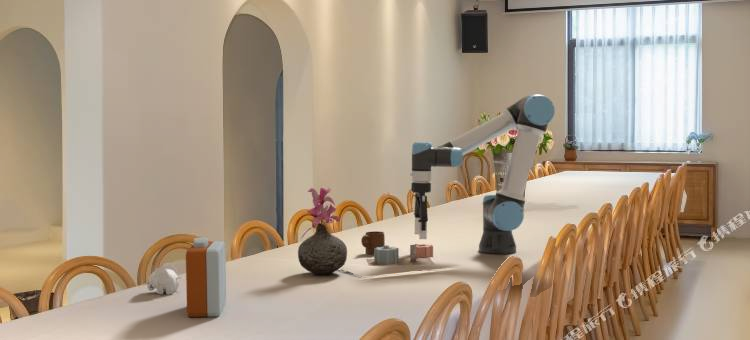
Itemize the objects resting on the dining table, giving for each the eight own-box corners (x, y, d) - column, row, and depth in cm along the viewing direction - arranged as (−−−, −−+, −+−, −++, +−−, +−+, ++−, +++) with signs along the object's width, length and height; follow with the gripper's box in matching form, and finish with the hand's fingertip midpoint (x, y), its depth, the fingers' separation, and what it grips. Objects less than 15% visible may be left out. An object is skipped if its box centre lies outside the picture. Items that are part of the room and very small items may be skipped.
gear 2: (431, 256, 312) (431, 243, 312) (434, 259, 304) (434, 246, 303) (409, 256, 311) (409, 244, 311) (412, 260, 303) (412, 247, 303)
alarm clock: (196, 303, 232) (194, 233, 231) (226, 302, 233) (225, 233, 231) (186, 318, 213) (185, 243, 212) (219, 317, 214) (218, 242, 213)
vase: (353, 271, 281) (352, 187, 279) (335, 280, 264) (334, 191, 263) (310, 269, 286) (309, 186, 285) (289, 277, 270) (288, 190, 268)
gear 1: (391, 259, 299) (391, 245, 299) (402, 262, 291) (402, 249, 291) (370, 261, 295) (370, 247, 295) (381, 264, 287) (381, 250, 287)
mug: (370, 260, 305) (370, 235, 304) (354, 258, 309) (354, 234, 309) (388, 255, 314) (388, 232, 314) (373, 254, 319) (373, 230, 318)
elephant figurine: (148, 289, 253) (148, 262, 252) (186, 289, 252) (185, 261, 252) (139, 296, 243) (138, 267, 242) (177, 296, 243) (177, 267, 242)
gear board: (429, 260, 302) (429, 242, 301) (434, 267, 288) (434, 247, 287) (366, 262, 300) (366, 243, 299) (369, 268, 286) (368, 248, 285)
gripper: (407, 179, 318) (406, 232, 319) (415, 184, 293) (415, 241, 294) (426, 179, 319) (425, 232, 320) (435, 184, 294) (435, 241, 295)
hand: (420, 236), depth 307 cm, fingers open, 13 cm apart
